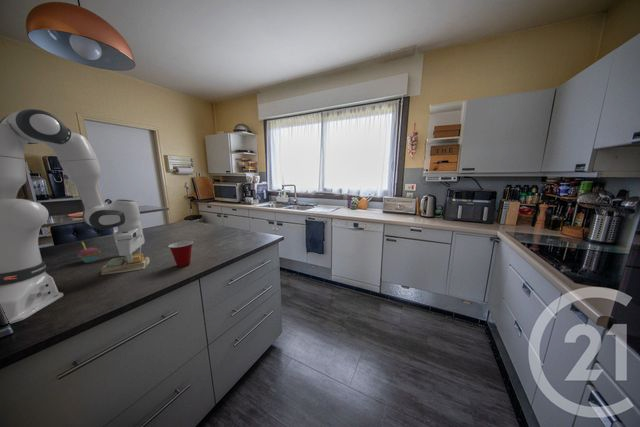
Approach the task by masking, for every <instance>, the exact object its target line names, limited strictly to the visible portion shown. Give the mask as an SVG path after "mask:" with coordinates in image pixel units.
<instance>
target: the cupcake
mask: <svg viewBox="0 0 640 427" xmlns="http://www.w3.org/2000/svg"><path fill="white" fill-rule="evenodd" d="M81 244H82V247H83V249H82V250H80V251H78V252H77V253H76V256H77V258H80V259H81V260H82V261H83V262H84V263H92V262H96V261H97V260H98V256H99V255H100V254H101V250H100V249H99V248H97V247H88V248H87V247H86V245H85V243H84V242H83V241H81Z"/></svg>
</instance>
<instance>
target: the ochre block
mask: <svg viewBox="0 0 640 427" xmlns="http://www.w3.org/2000/svg"><path fill="white" fill-rule="evenodd" d="M132 257H133V258H134V260H133V261H132V262H128V259H127V258H126V260H127V263H128V264H134V263H141V262H143V261H144V253H143V252H141V253H140V254H136V253H135V254H133V253H132Z"/></svg>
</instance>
